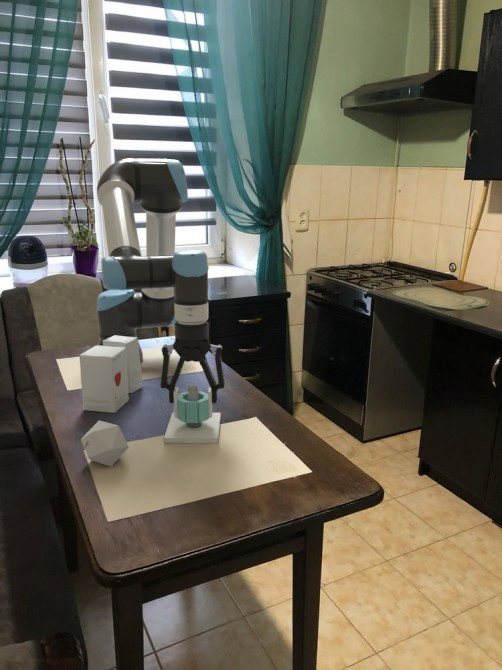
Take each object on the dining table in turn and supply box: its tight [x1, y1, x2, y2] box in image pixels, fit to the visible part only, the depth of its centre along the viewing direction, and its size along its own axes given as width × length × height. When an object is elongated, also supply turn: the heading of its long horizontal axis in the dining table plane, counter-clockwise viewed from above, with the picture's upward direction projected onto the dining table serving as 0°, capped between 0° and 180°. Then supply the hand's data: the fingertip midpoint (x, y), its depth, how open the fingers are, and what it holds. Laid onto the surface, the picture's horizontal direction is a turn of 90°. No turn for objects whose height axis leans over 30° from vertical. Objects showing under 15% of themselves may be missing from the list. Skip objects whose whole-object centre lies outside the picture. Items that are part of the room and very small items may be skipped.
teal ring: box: [177, 390, 209, 423], centre depth 126 cm, size 7×7×5 cm
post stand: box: [163, 383, 221, 444], centre depth 126 cm, size 14×12×11 cm
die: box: [80, 420, 130, 467], centre depth 112 cm, size 8×9×10 cm
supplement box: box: [78, 345, 130, 414], centre depth 139 cm, size 9×9×15 cm
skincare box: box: [103, 335, 143, 394], centre depth 150 cm, size 8×6×15 cm
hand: (193, 415), depth 127 cm, fingers closed on teal ring, 7 cm apart
